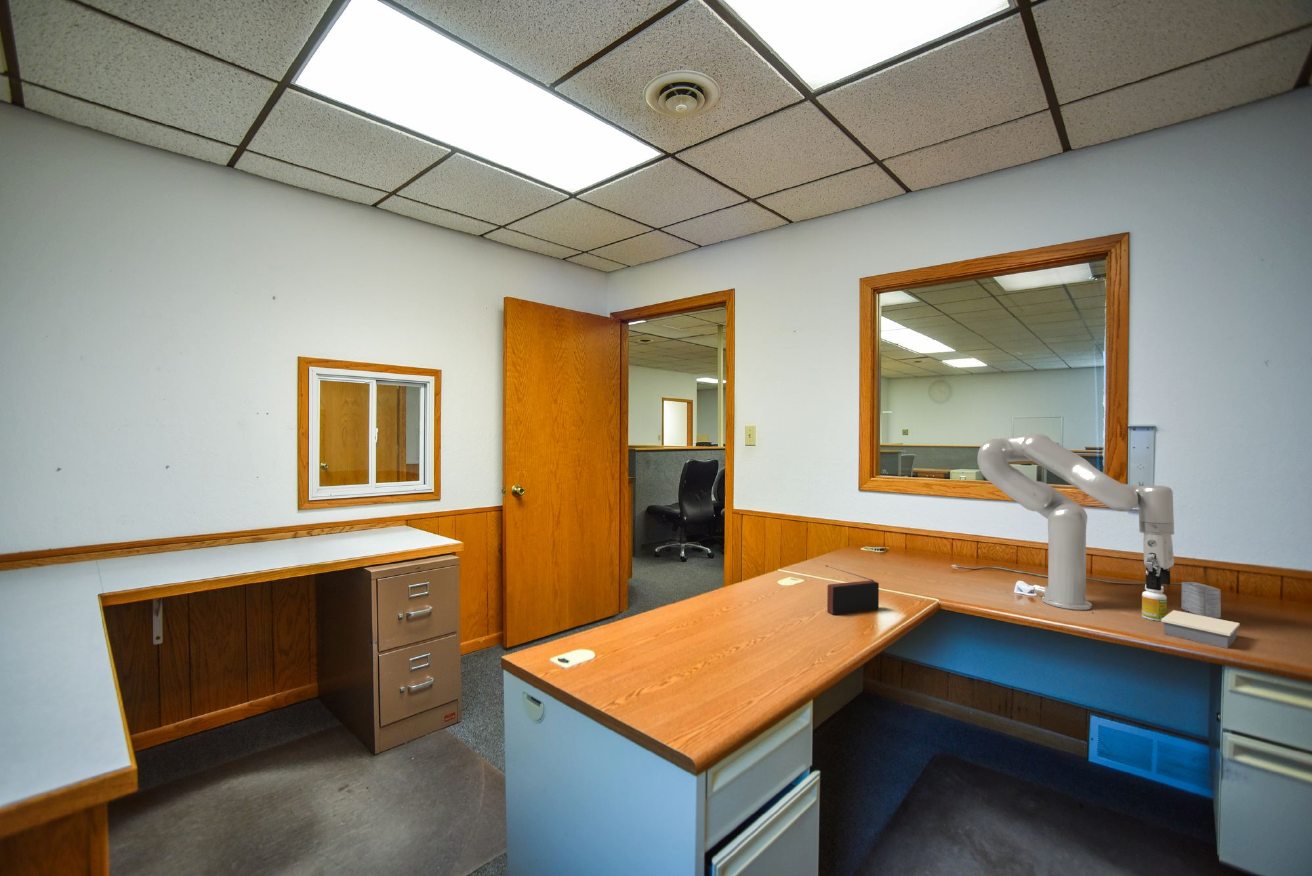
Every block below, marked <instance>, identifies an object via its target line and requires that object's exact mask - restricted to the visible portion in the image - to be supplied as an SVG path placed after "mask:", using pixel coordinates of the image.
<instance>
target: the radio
mask: <svg viewBox="0 0 1312 876" xmlns="http://www.w3.org/2000/svg"><path fill="white" fill-rule="evenodd" d="M825 567H826V568H831V569H833V570H837V571H839V572H843V573H847V574H850V575H853V576H857V577H860V578H862V579H866V580H860V581H850V582H840V583H839V582H838V583H832V584H831V583H830V584H827V597H826V598H827V600H826V601H827V604H826V607H827V608H826V609H827V613H828V614H831V615H832V616H837V615H846V614H853V613H855V614H856V613H863V612H871V611H878V610H879V608H880V607H879V606H880V605H879V604H880V603H879V602H880V601H879V599H880V598H879V596H880V595H879V592H880V585H879V584H880V583H879V582H877V581H875V580H874V579H872V578H868V577H865V576H861V575H859V574H855V573H851V572H849V571H845V570H842V569H838V568H836V567H832V566H830V565H829V566H828V565H825Z"/></svg>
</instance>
